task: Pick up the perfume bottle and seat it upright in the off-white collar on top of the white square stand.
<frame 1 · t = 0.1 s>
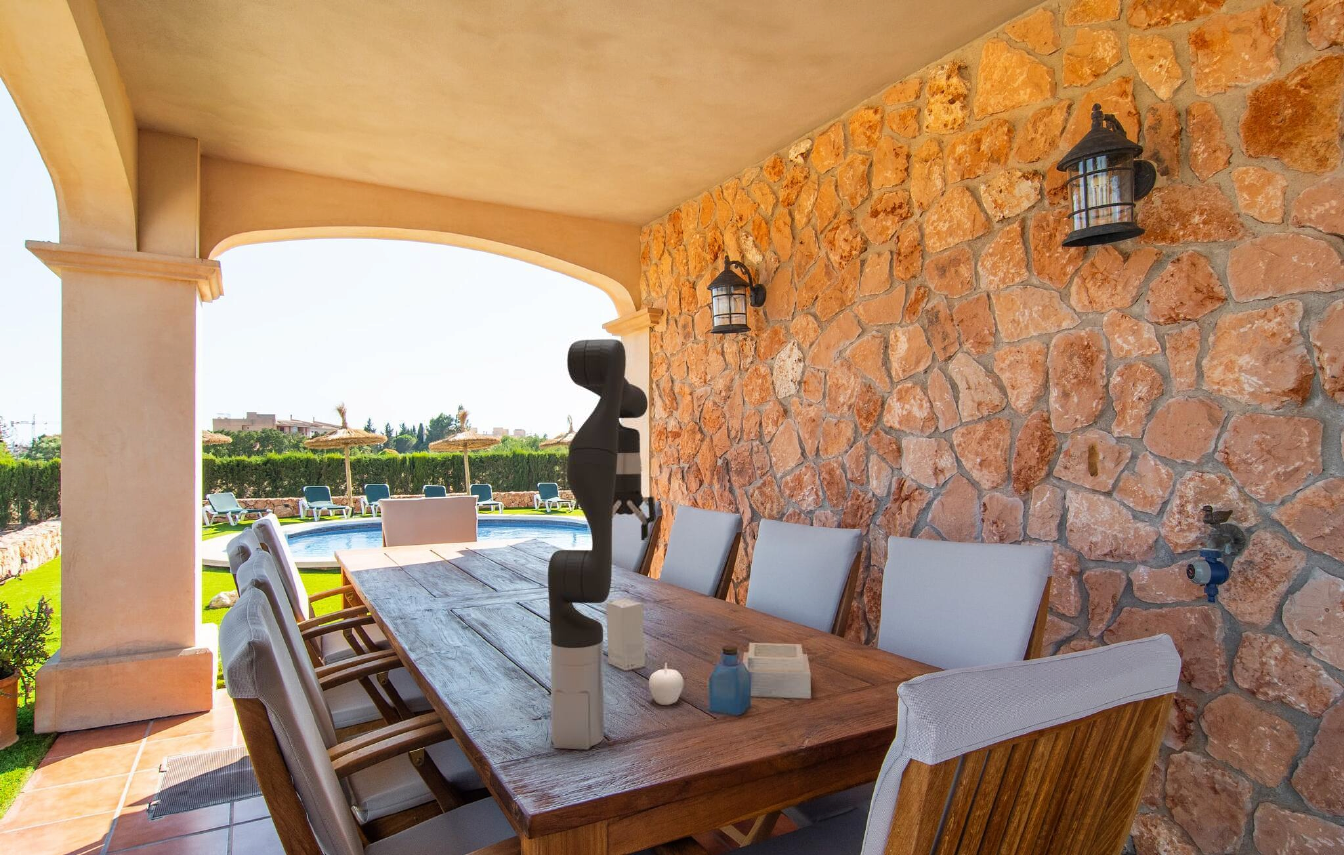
hand: (626, 539, 173), 29 cm above the table, tool pointing down, fingers open, 8 cm apart
perfume bottle: (730, 709, 142), on the table
plain white apple: (666, 702, 146), on the table
skincare box: (625, 666, 171), on the table
white square stand: (775, 685, 155), on the table
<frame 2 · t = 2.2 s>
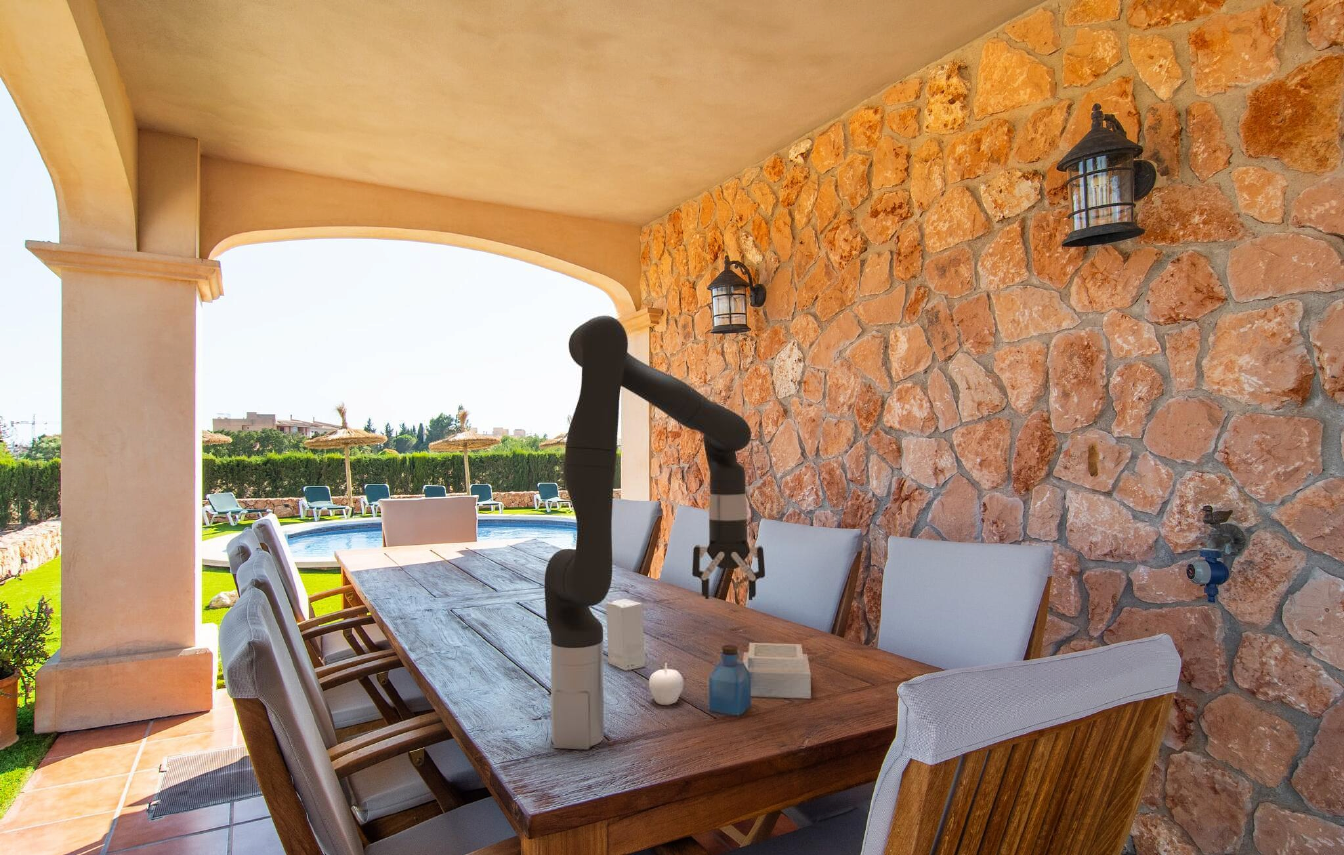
hand: (728, 598, 143), 21 cm above the table, tool pointing down, fingers open, 8 cm apart
nothing on the table moved.
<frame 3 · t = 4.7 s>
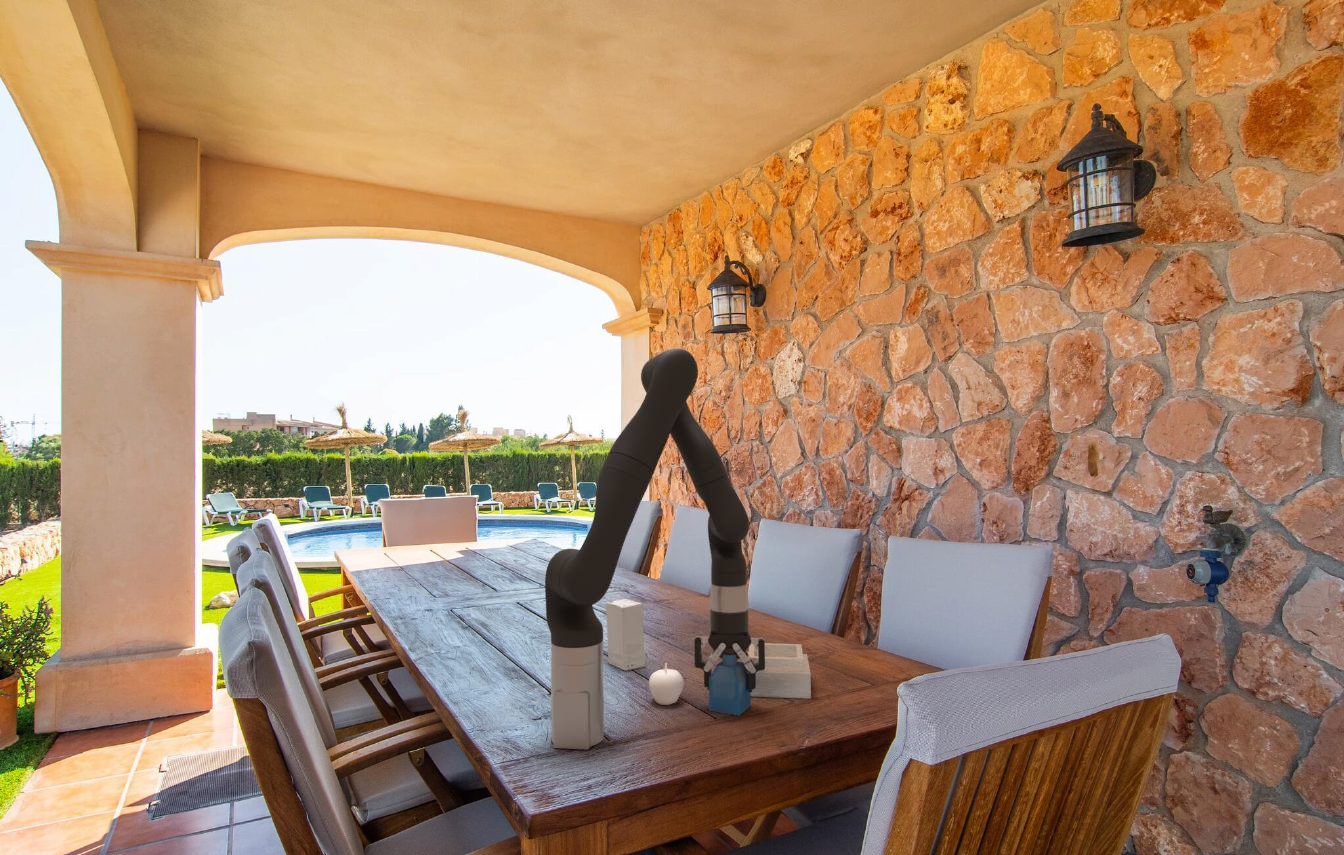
hand: (730, 689, 143), 3 cm above the table, tool pointing down, fingers closed on perfume bottle, 7 cm apart
perfume bottle: (730, 708, 143), on the table, touching gripper
everything else where it was.
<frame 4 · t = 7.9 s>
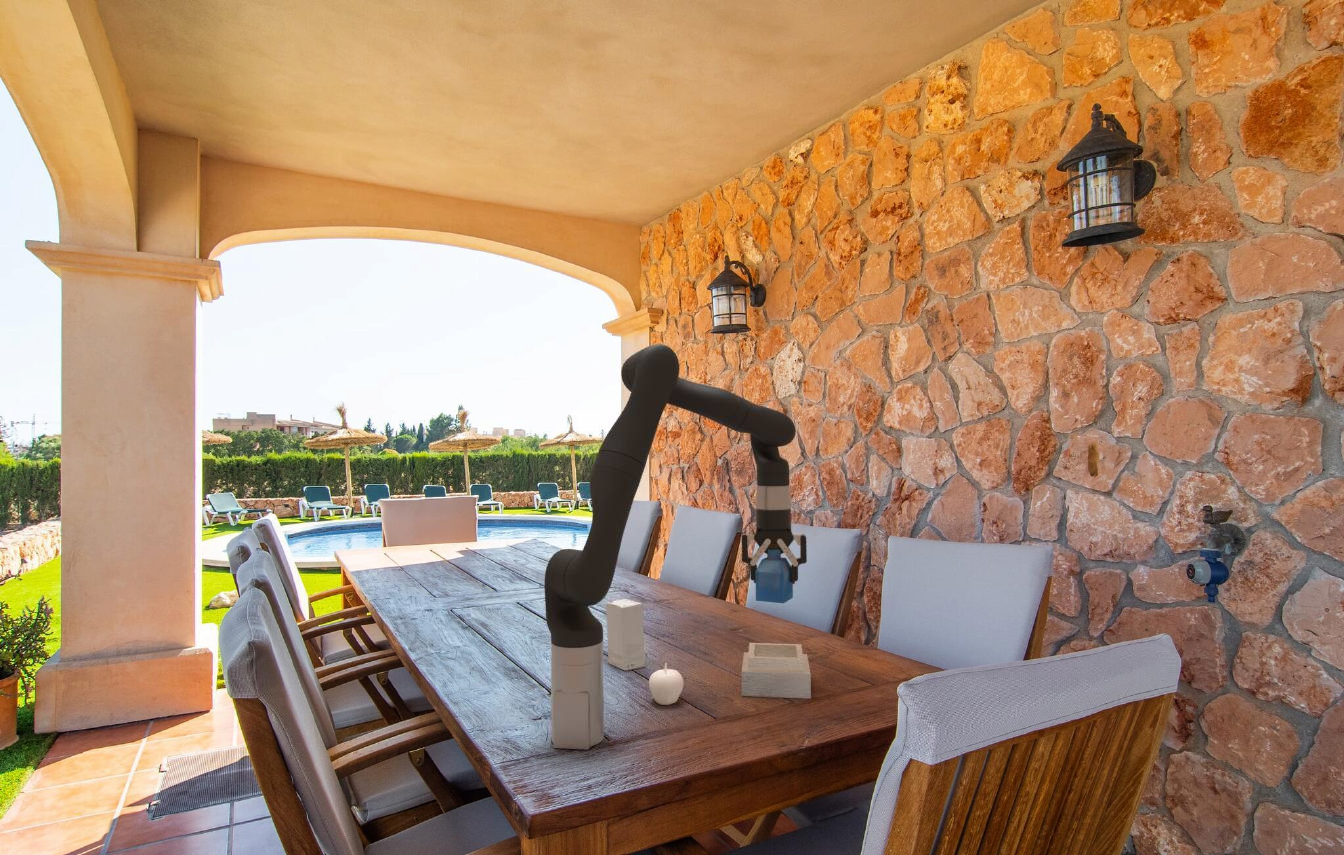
hand: (774, 582, 156), 22 cm above the table, tool pointing down, fingers closed on perfume bottle, 7 cm apart
perfume bottle: (774, 600, 156), point 18 cm above the table, touching gripper
everything else where it was.
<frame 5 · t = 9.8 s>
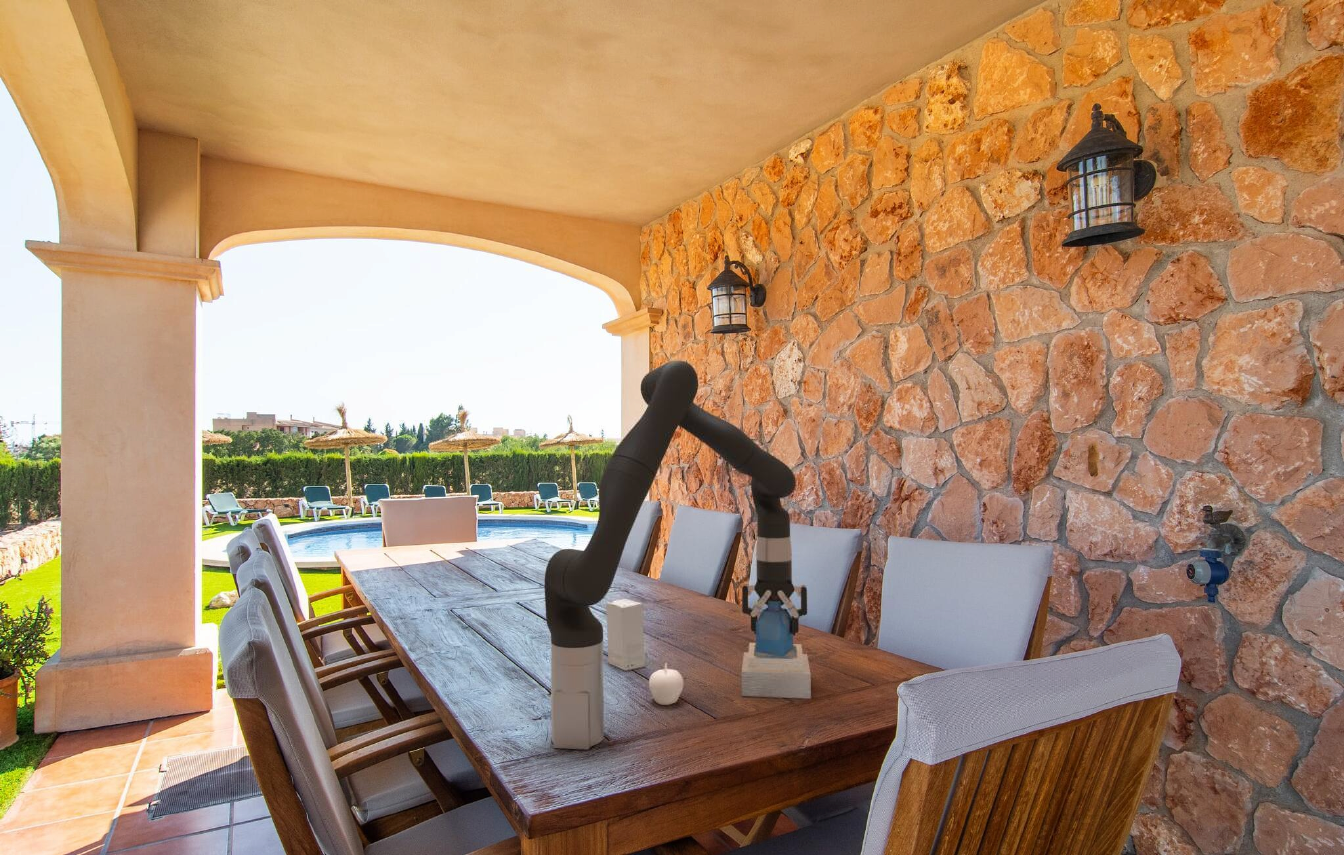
hand: (774, 633, 155), 11 cm above the table, tool pointing down, fingers closed on perfume bottle, 7 cm apart
perfume bottle: (774, 651, 155), point 7 cm above the table, touching gripper
everything else where it was.
when the fingers open (10 cm above the table, at t = 11.2 s): perfume bottle drops 1 cm, resting on white square stand.
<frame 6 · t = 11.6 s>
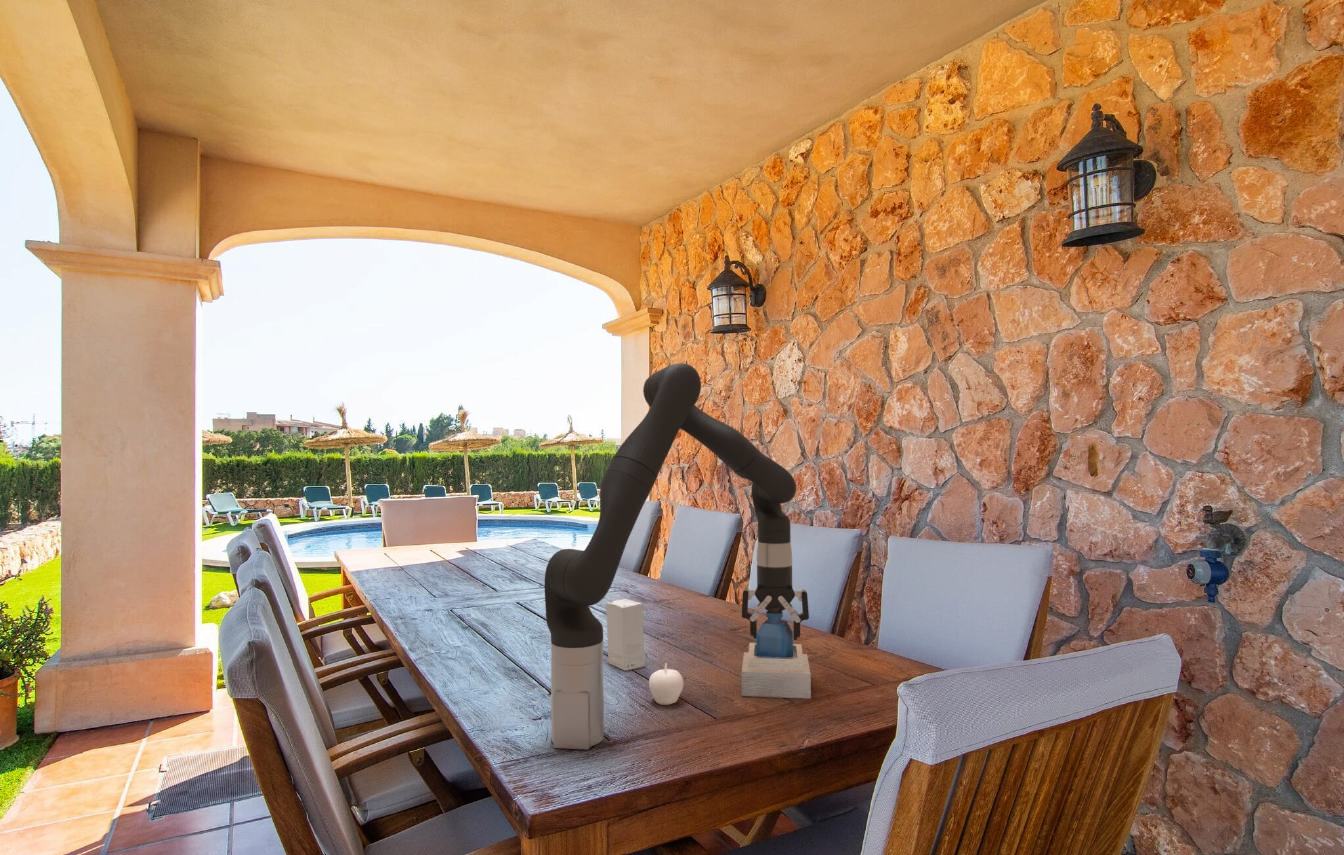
hand: (775, 638, 155), 10 cm above the table, tool pointing down, fingers open, 8 cm apart
perfume bottle: (775, 663, 155), point 5 cm above the table, touching white square stand
everything else where it was.
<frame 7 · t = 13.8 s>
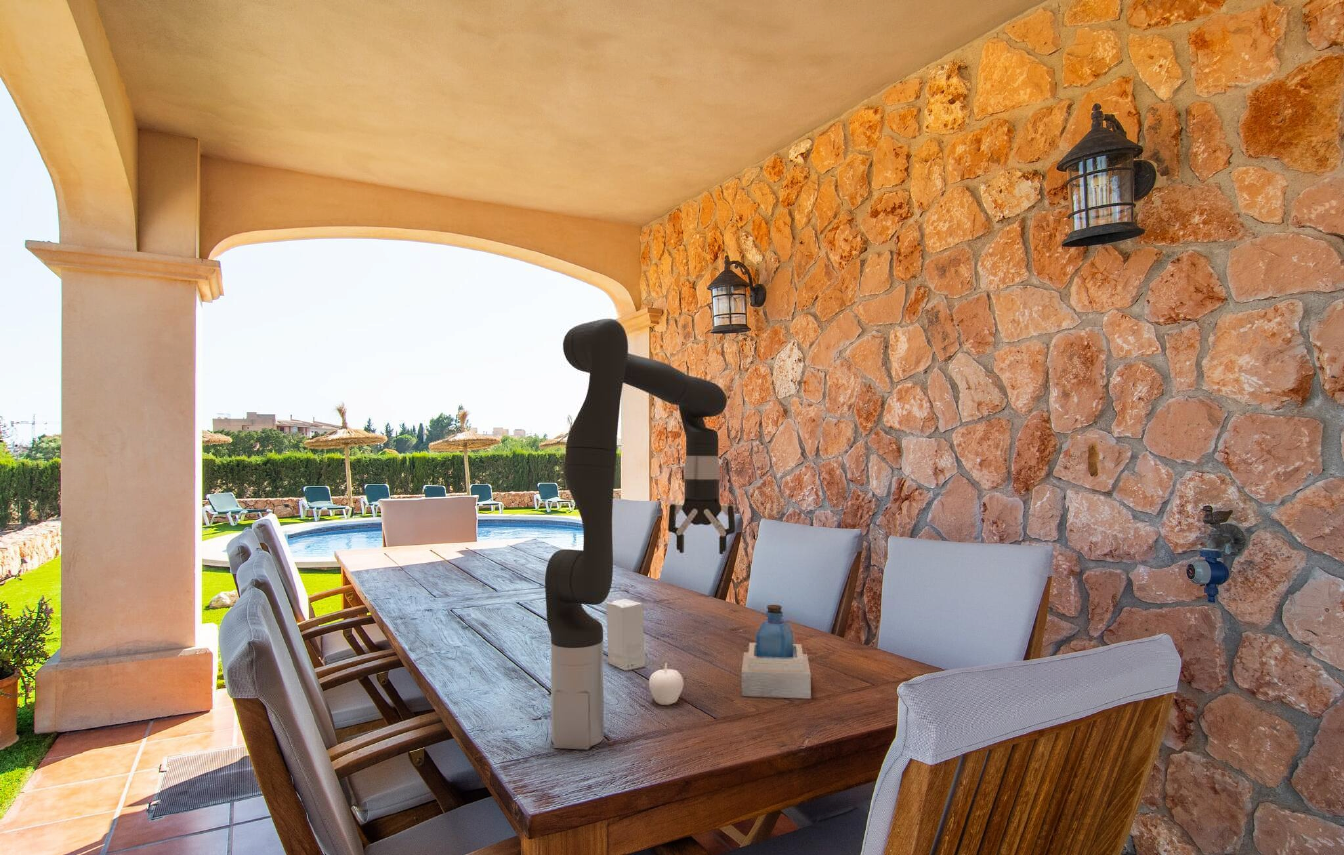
hand: (701, 553, 155), 29 cm above the table, tool pointing down, fingers open, 8 cm apart
nothing on the table moved.
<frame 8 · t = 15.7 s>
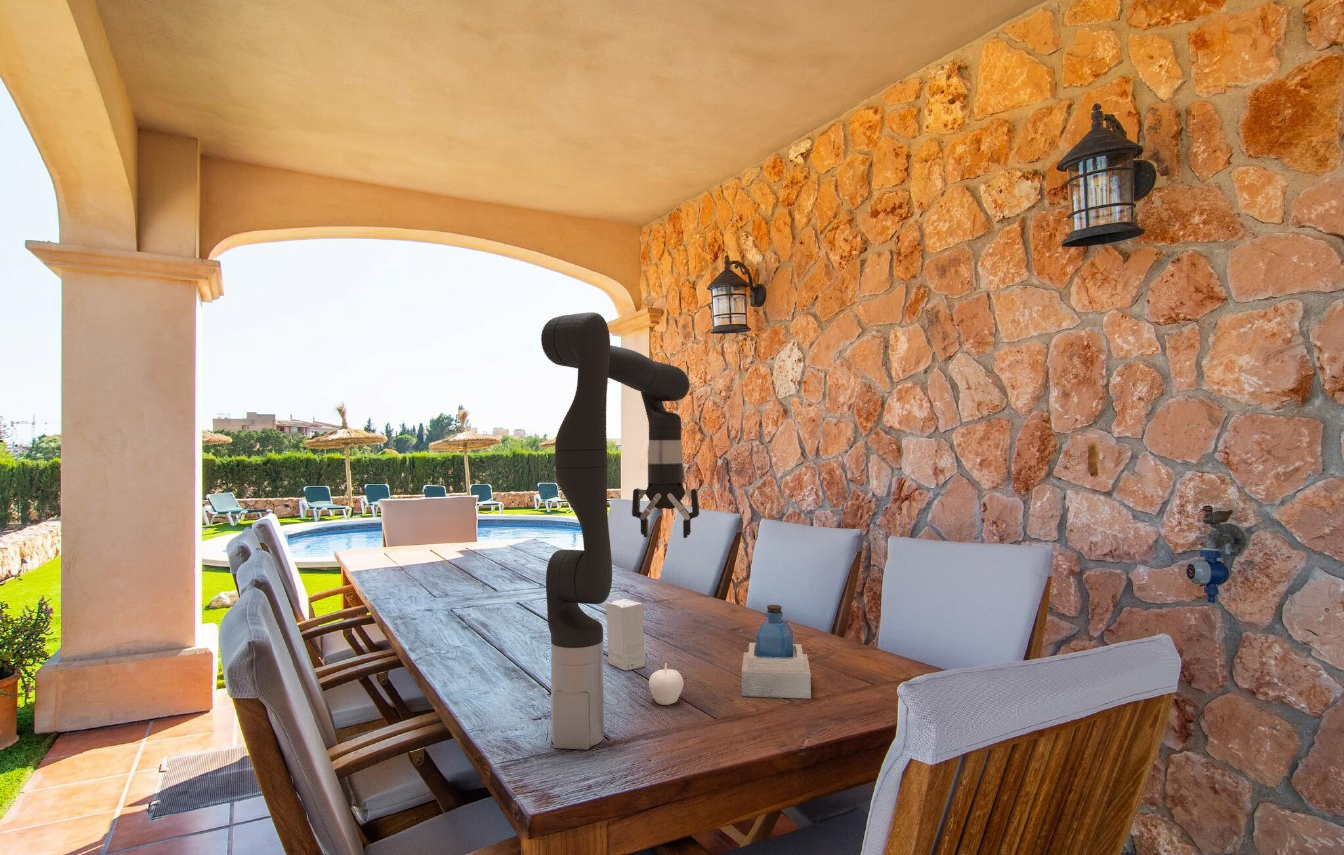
hand: (665, 537, 155), 32 cm above the table, tool pointing down, fingers open, 8 cm apart
nothing on the table moved.
at the end: perfume bottle 0.1 cm off-centre on the white square stand, point 4.8 cm above the white square stand's base; perfume bottle tilted 0°; the gripper is holding nothing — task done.
